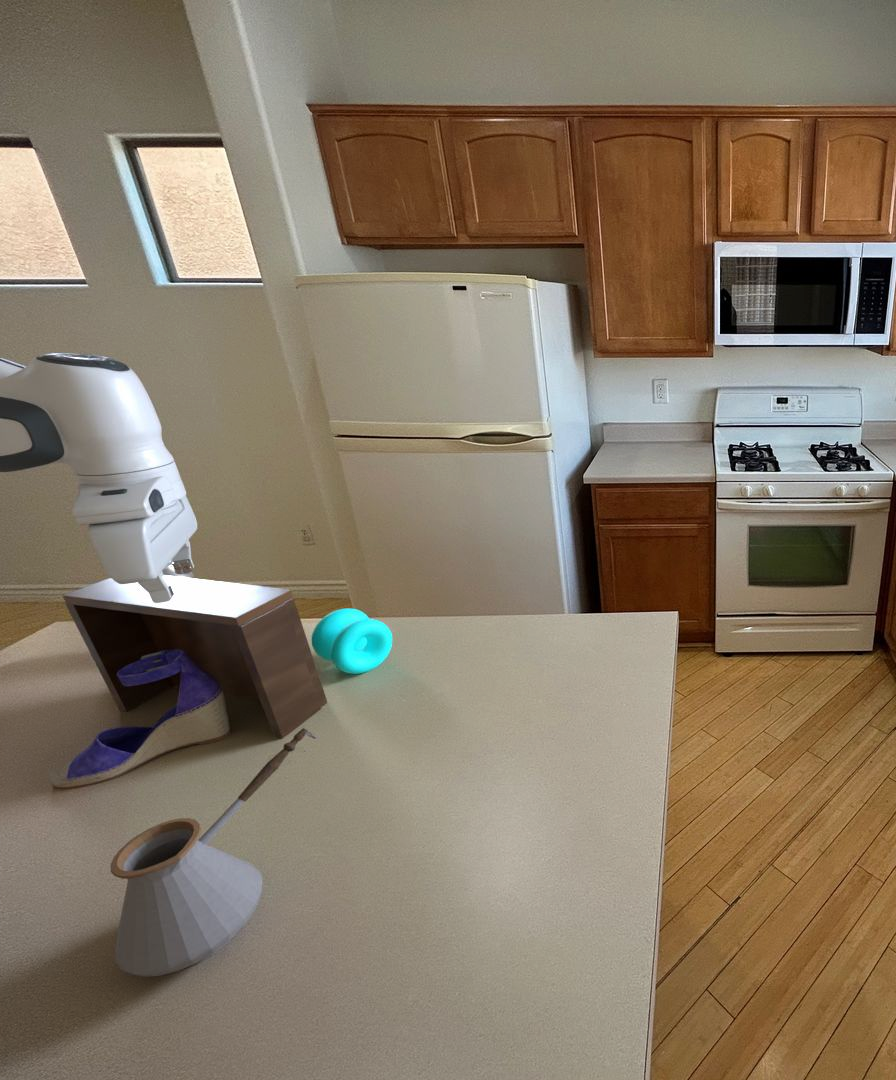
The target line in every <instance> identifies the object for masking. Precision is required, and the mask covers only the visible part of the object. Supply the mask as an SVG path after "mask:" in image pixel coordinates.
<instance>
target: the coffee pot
mask: <svg viewBox="0 0 896 1080" xmlns="http://www.w3.org/2000/svg"><path fill="white" fill-rule="evenodd" d="M305 736H308V737H309V738H312V739H315V740H317V739H318V738H319V737H318V736H317V735H316V734H314V733H312V732H310V731H308V729H306V728H304V727H303V728H301V729H300V730H299V731H298V732H297V733H295V735H294V736H293V738H292V739H291V740H290V741H288V742H286V743H284V744H283V749H281V750H280V751H279V752H278V753H277V754H276V755H274V756H273V758H271V759H270V760H268V761H267V762H266V763H265V765H264V766H263V767H262V768H261V770H260V771H258V773H257V774H256V775H255V776H254V777H253V779H252V780H251V781H250V783H249V784H248V785H247V786H246V787H245V788H244V789H243V790H242V791H241V793H240V794H239V795H238V796H237V799H236V800H235V801H234V802H233V803H232V804H231V805H230V806H229V807H228V808H227V809H226V810H225V811H224V813H222V814H221V815H220V817H218V819H217V820H215V822H214V823H213V824H211V826H209V828H208V829H207V830H206V831H205V832H204V833H203V834H202V825H201V823H200V821H198V820H197V819H194V818H190V817H181V818H175V819H170V820H166V821H164V822H161V823H158V824H156V825H154V826H153V827H149V828H148V829H146V830H144V831H142V832H140V833H139V834H137V835H136V836H135V837H133V838H131V839H130V840H129V841H128V842H126V843H125V844H124V845H123V846H122V847H121V848H120V849H119V850H118V851H117V852H116V854H115V855H114V856H113V858H112V860H111V863H110V873H111V874H112V875H113V876H114V877H116V878H119V879H123V880H124V879H125V880H126V879H127V883H126V888H125V892H124V893H125V895H124V898H123V899H124V900H123V902H122V903H123V904H122V909H121V914H120V920H119V925H118V928H117V929H118V930H117V933H116V934H117V935H116V940H115V945H114V958H115V963H116V964H117V966H118V967H119V969H121V970H122V972H125V973H127V974H131V975H134V976H138V977H160V976H165V975H168V974H172V973H175V972H179V971H181V970H184V969H185V968H190V967H192V966H194V965H196V964H199V963H200V962H203V961H205V960H206V959H208V958H209V957H210V956H213V955H214V954H216V953H217V952H218V951H219V950H221V949H222V948H223V947H225V946H226V945H227V944H228V943H229V942H230V941H231V940H233V938H234V937H235V936H236V935H237V934H238V933H239V932H240V930H241V929H242V928H243V927H244V926H245V925H246V923H247V922H248V921H249V919H250V918H251V917H252V916H253V914H254V913H255V910H256V908H257V906H258V904H259V902H260V900H261V895H262V891H263V884H264V879H263V876H262V873H261V871H260V870H259V869H258V868H257V867H255V865H253V864H252V863H251V862H247V861H245V860H244V859H241V858H239V857H236V856H234V855H232V854H230V853H227V852H225V851H223V850H220V849H218V848H217V847H214V846H211V845H210V844H209V843H210V842H211V841H212V840H213V839H214V837H215V836H216V835H217V834H218V833H219V832H220V830H222V828H223V827H224V826H225V825H226V823H228V821H229V820H230V819H231V818H232V817H233V816H234V814H235V813H236V812H237V811H238V810H239V809H240V808H241V806H242V805H243V804H244V803H245V802H247V801H248V800H249V799H250V798H251V797H252V795H254V793H255V792H257V791H258V790H259V789H260V787H261V786H262V785H263V784H264V783H265V782H267V780H268V779H269V778H270V777H271V776H272V775H274V773H275V772H277V770H278V769H279V767H280V766H281V765H282V763H283V762H284V760H285V759H286V757H287V756H288V755H289V753H291V752H293V751H295V750H296V745H297V744H298V743H299V742H300V741H301V740H303V739H304V738H305ZM201 834H202V835H201Z"/></svg>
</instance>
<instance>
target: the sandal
mask: <svg viewBox="0 0 896 1080" xmlns="http://www.w3.org/2000/svg"><path fill="white" fill-rule="evenodd" d="M165 651H166V652H165ZM150 656H151V657H150ZM146 657H148V658H146ZM170 663H171V664H170ZM161 664H166V665H162V666H158V665H161ZM156 666H158V667H156ZM153 667H154V668H153ZM150 668H151V669H150ZM145 670H146V671H148V672H144V673H140V674H137V673H139V672H142V671H145ZM180 671H182V672H181V681H180V686H179V689H178V697H177V704H176V705H175V706H173V707H172V708H170V709H169V710H168V711H167V712H165V713H164V715H162V716H161V718H160V719H159V720H158V721H157V722H156V723H155V725H154V726H118V727H112V728H108V729H105V730H102V731H100V732H98V734H96V736H95V738H94V740H93V741H92V742H91V744H90V745H88V746H87V747H86V749H84V750H82V751H81V752H80V753H78V754H77V755H76V756H75V757H74V758H72V759H70V760H67V761H66V762H63V764H61V765H59V766H58V767H57V768H55V769H54V770H53V771H52V772H51V773H50V774H49V776H48V781H49V783H50V784H51V785H52V786H53V787H55V788H56V789H75V788H80V787H81V788H82V787H86V786H92V785H95V784H99V783H103V782H107V781H110V780H112V779H114V778H117V777H119V776H121V775H123V774H125V773H128V772H130V771H131V770H134V769H136V768H138V767H139V766H141V765H143V764H146V763H147V762H150V761H152V760H154V759H156V758H157V757H160V756H161V755H164V754H166V753H169V752H172V751H176V750H179V749H182V748H185V747H189V746H193V745H197V744H199V745H200V746H201V745H205V744H210V743H214V742H218V741H221V740H224V739H225V738H228V737H229V735H230V734H231V733H232V731H231V728H230V721H229V716H228V711H227V705H226V700H225V699H226V698H225V693H223V690H222V688H221V687H220V686H219V684H218V682H217V681H216V680H215V679H214V678H213V677H212V676H211V675H209V674H208V673H206V672H205V671H204V670H202V669H201V668H200V667H199V666H197V665H196V664H195V663H194V662H193V661H192V660H191V658H190V657H189V655H188V654H187V653H186V652H185V651H182V650H178V649H175V650H170V651H169V650H163V651H161V652H156V653H152V654H148V655H145V656H142V657H141V660H140V661H137V662H134V663H132V664H130V665H127V666H125V667H124V668H122V669H121V670H119V671H118V673H117V676H118V678H119V680H120V681H121V683H122V684H123V685H124V686H133V685H140V684H145V683H149V682H153V681H157V680H160V679H163V678H166V677H169V676H171V675H174V674H176V673H178V672H180ZM134 674H135V675H134Z"/></svg>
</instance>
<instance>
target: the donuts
mask: <svg viewBox="0 0 896 1080" xmlns="http://www.w3.org/2000/svg"><path fill="white" fill-rule="evenodd" d="M311 646H312V648H313V649H312V650H313V651H314V652H315V653H316V655H317V656H319V657H320V658H322V659H324V660H326V661H330V662H333V664H334V665H335V667H336V668H337V669H339V670H340V671H342V672H344V673H346V674H354V675H357V674H358V675H359V674H364V673H366V672H369V671H370V672H371V670H374V669H375V668H377V667H378V666H380V665H381V664H382V663H383V662H384V661H385V660H386V659H387V657H388V656H389V654H390V652H391V650H392V646H393V633H392V632H391V630H390V628H389V627H388V626H387V624H386V623H384V622H382V621H380V620H378V619H374V618H373V619H372V618H369V617H368V615H367V614H366V613H365V612H363V611H361V610H359V609H356V608H350V607H349V608H347V607H346V608H340V609H337V610H333V611H331V612H329V613H328V614H326V615H325V616H324V617H322V618H321V619H320V620H318V622H317V624H316V625H315V627H314V628H313V632H312V634H311Z"/></svg>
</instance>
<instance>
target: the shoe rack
mask: <svg viewBox="0 0 896 1080" xmlns="http://www.w3.org/2000/svg"><path fill="white" fill-rule="evenodd" d="M194 578H195V577H194ZM194 578H186V577H177V576H168V575H164V576H163V579H164V580H165V582H166V584H167V585H169V584H170V585H171V587H172V591H173V592H174V595H173V597H172V598H171V600H170V601H168V602H162V603H154V602H153V601H152V599H151V597H150V595H149V593H148V592H147V591H146V590H145V589H144V588H143V587H142V586H140V585H139V584H138V582H137V583H130V584H119V583H117V582H116V581H114V580H113V579H112V578H111V577H108V578H105V579H103V580H100V581H98V582H95V583H93V584H90V585H87V586H85V587H81V588H79V589H76V590H74V591H71V592H68V593H66V594H63V595H62V598H63V600H64V602H65V606H66V608H67V610H68V612H69V614H70V616H71V618H72V620H73V621H74V624H75V626H76V628H77V630H78V632H79V634H80V636H81V637H82V640H83V642H84V643H85V646H86V648H87V649H88V652H89V654H90V655H91V658H92V659H93V661H94V664H95V665H96V667H97V669H98V671H99V673H100V675H101V677H102V679H103V681H104V683H105V685H106V687H107V689H108V691H109V693H110V695H111V697H112V699H113V700H114V703H115V704H116V706H117V708H118V710H119V711H120V712H125V713H127V712H130V711H131V710H133V709H135V708H136V707H138V706H141V705H142V704H143V703H145V702H148V701H149V700H151V699H153V698H154V697H157V696H158V695H160V694H162V693H163V692H165V691H166V690H169V689H170V688H172V687H180V681H181V672H182V671H180V672H178V673H176V674H174V675H171V676H169V677H166V678H163V679H160V680H157V681H153V682H149V683H145V684H140V685H133V686H124V685H123V684H122V683H121V681H120V680H119V678H118V676H117V673H118V671H119V670H121V669H122V668H124V667H125V666H127V665H130V664H132V663H134V662H137V661H140V660H141V657H142V656H145V655H148V654H152V653H156V652H161V651H163V650H169V651H170V650H175V649H178V650H182V651H185V652H186V653H187V654H188V655H189V657H190V658H191V660H192V661H193V662H194V663H195V664H196V665H197V666H199V667H200V668H201V669H202V670H204V671H205V672H206V673H208V674H209V675H211V676H212V677H213V678H214V679H215V680H216V681H217V682H218V684H219V686H220V687H221V688H222V690H223V693H224V695H232V696H239V697H245V698H251V699H257V700H259V701H260V704H261V707H262V709H263V711H264V713H265V716H266V719H267V722H268V724H269V727H270V730H271V732H272V735H273V737H274V738H277V739H278V738H279V739H285V737H287V736H288V735H289V734H291V733H292V732H294V730H296V729H297V728H299V727H300V726H301V725H302V724H303V723H305V722H306V721H308V720H309V719H310V718H311V717H313V716H314V715H316V713H318V712H319V711H321V708H323V706H325V705H326V704H328V699H327V696H326V693H325V691H324V688H323V684H322V681H321V678H320V675H319V672H318V669H317V665H316V663H315V659H314V656H313V654H312V650H311V647H310V644H309V641H308V638H307V635H306V632H305V629H304V626H303V623H302V619H301V616H300V614H299V611H298V608H297V605H296V604H297V603H296V601H295V599H294V594H293V592H292V589H289V588H288V589H287V588H279V587H271V586H263V585H256V584H255V585H254V584H245V583H236V582H229V581H219V580H211V579H210V580H209V579H201V578H195V579H194ZM165 652H166V651H165ZM150 657H151V656H150ZM146 658H148V657H146ZM170 664H171V663H170ZM162 665H166V664H161V665H158V666H162ZM158 666H156V667H158ZM153 668H154V667H153ZM150 669H151V668H150ZM144 672H148V671H146V670H145V671H142V672H139V673H137V674H140V673H144ZM134 675H135V674H134Z"/></svg>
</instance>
